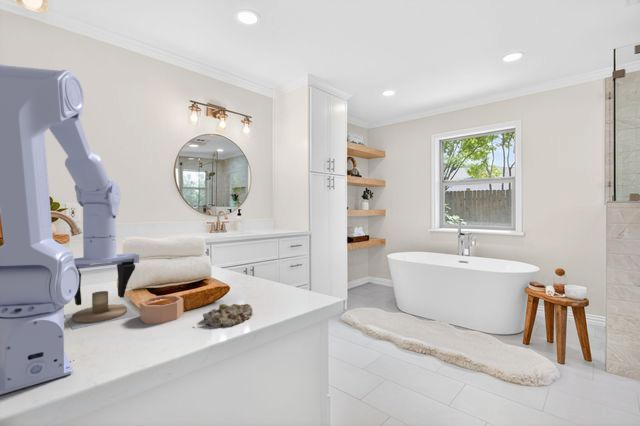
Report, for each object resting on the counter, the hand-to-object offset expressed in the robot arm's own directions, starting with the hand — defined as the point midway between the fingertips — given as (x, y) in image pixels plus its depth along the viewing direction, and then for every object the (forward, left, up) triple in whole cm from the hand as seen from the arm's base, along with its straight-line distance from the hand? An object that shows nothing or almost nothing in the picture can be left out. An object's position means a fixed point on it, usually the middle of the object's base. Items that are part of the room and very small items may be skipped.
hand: (100, 300), depth 68 cm
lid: (0, 0, -3) cm, 3 cm away
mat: (0, 0, -4) cm, 4 cm away
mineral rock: (-20, -19, -4) cm, 28 cm away
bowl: (-10, -9, -4) cm, 14 cm away
